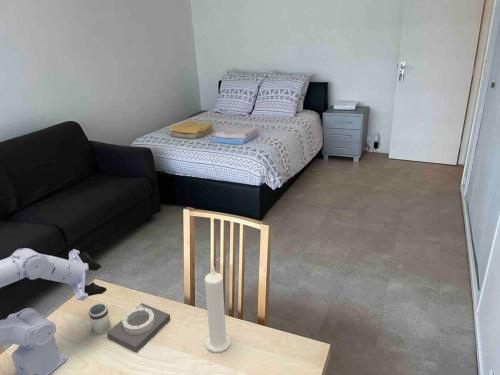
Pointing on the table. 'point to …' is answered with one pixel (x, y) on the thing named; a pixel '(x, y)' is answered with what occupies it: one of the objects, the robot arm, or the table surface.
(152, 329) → the camera body
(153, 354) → the table surface
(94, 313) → the lens
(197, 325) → the table surface
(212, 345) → the candle
